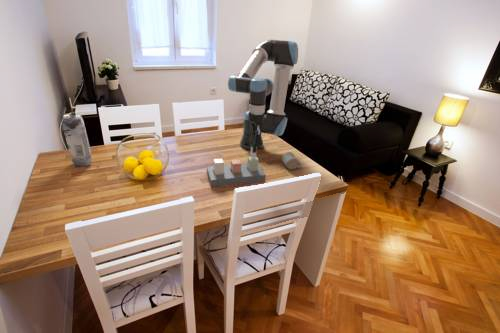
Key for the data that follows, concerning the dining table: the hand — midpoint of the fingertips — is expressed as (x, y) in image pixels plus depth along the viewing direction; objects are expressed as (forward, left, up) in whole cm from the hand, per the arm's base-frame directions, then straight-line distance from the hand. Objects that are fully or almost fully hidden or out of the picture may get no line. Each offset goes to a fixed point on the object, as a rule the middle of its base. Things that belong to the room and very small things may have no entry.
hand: (253, 157), depth 143 cm
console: (0, -9, -11) cm, 14 cm away
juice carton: (-29, -86, -11) cm, 91 cm away
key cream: (0, -18, -8) cm, 20 cm away
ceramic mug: (-6, +26, -12) cm, 29 cm away
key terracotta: (0, -9, -9) cm, 13 cm away
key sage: (0, 0, -8) cm, 8 cm away
